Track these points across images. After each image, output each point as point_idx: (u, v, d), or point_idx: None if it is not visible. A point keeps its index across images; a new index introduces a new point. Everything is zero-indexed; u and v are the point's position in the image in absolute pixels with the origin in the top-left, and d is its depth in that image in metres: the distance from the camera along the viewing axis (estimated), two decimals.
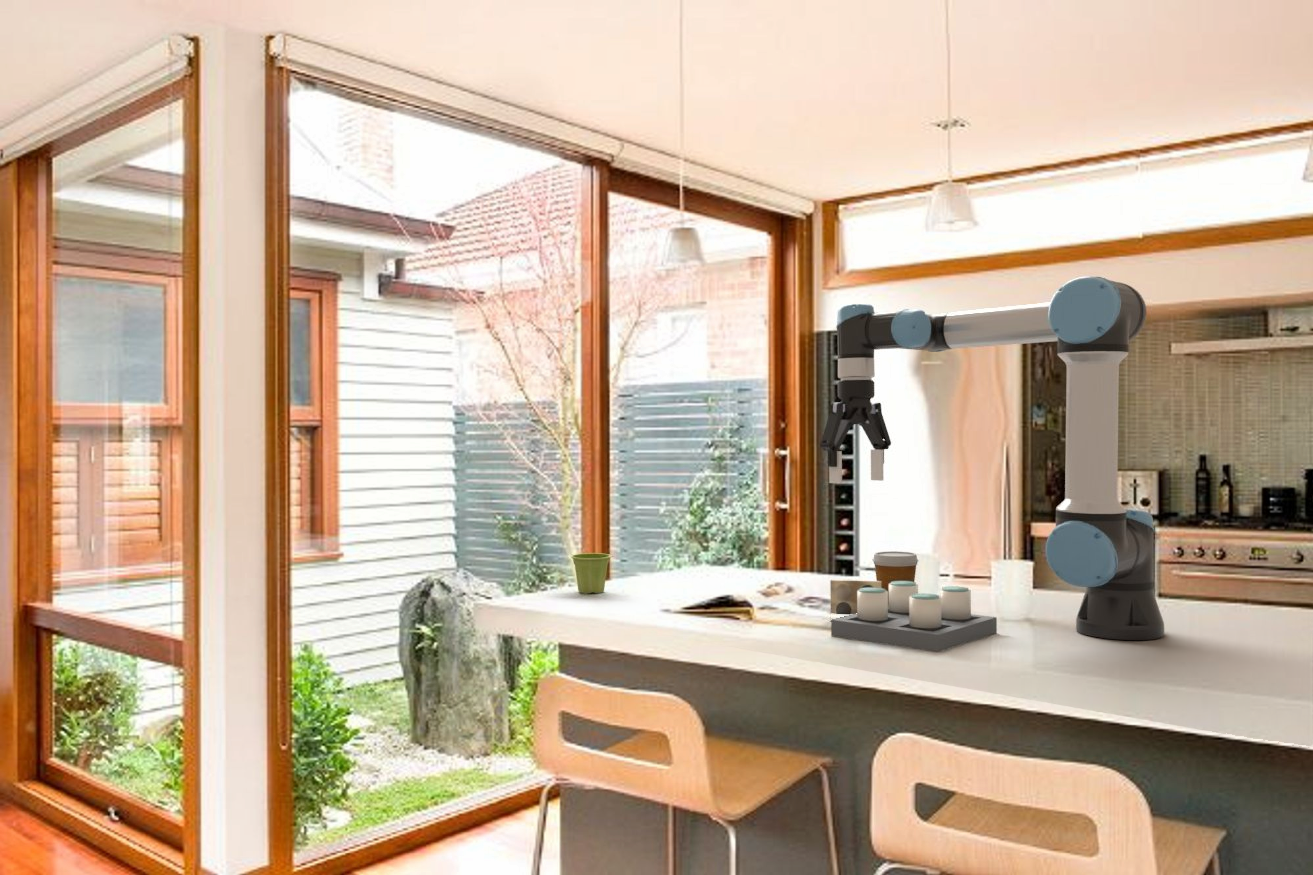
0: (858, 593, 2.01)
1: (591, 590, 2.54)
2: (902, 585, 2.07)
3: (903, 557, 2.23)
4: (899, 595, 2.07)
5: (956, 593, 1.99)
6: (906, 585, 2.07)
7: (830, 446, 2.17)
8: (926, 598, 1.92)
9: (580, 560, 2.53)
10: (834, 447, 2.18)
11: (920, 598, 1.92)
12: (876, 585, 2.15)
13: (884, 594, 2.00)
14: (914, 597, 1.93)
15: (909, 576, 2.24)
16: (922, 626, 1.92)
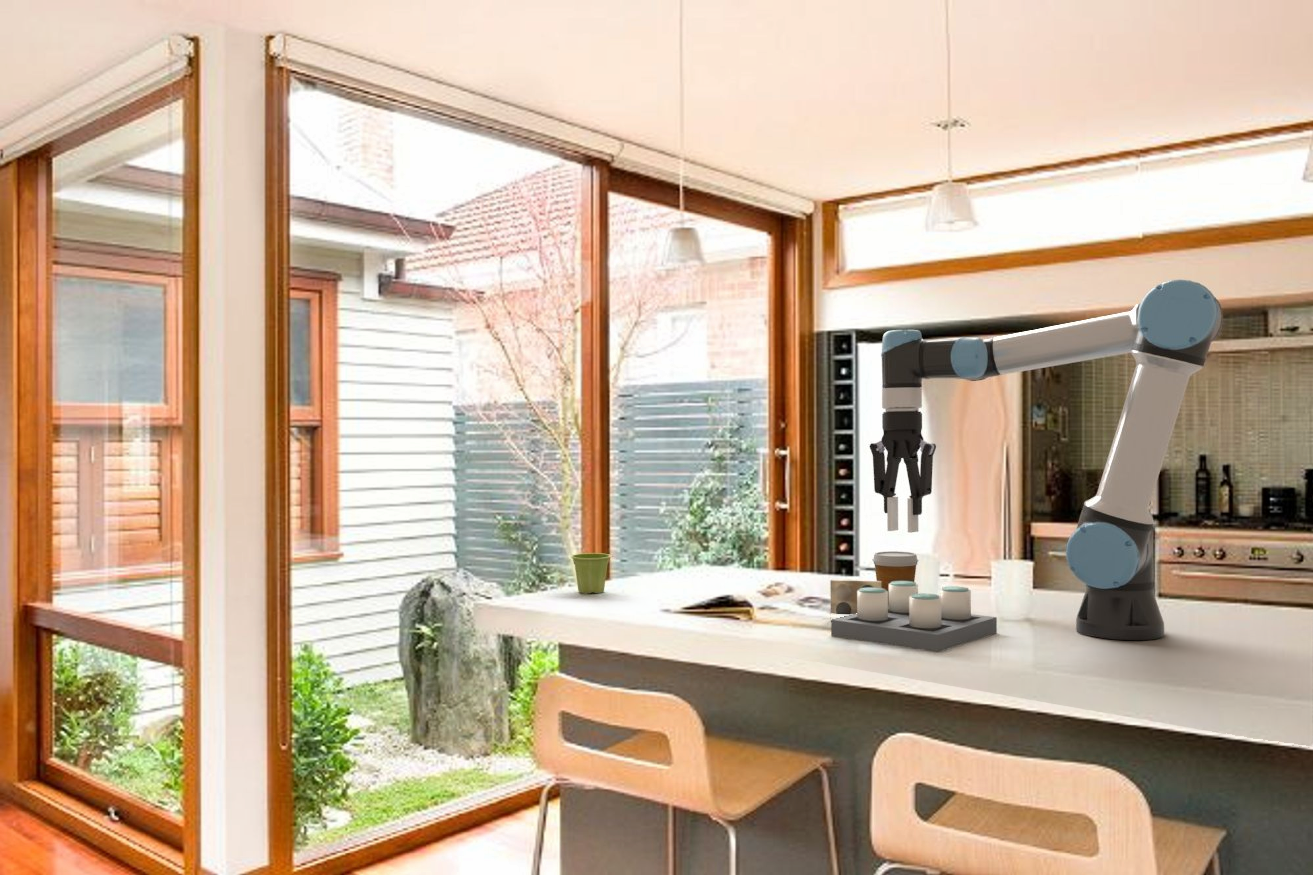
0: (858, 593, 2.01)
1: (591, 590, 2.54)
2: (902, 585, 2.07)
3: (903, 557, 2.23)
4: (899, 595, 2.07)
5: (956, 593, 1.99)
6: (906, 585, 2.07)
7: (876, 492, 2.12)
8: (926, 598, 1.92)
9: (580, 560, 2.53)
10: None
11: (920, 598, 1.92)
12: (876, 585, 2.15)
13: (884, 594, 2.00)
14: (914, 597, 1.93)
15: (909, 576, 2.24)
16: (922, 626, 1.92)
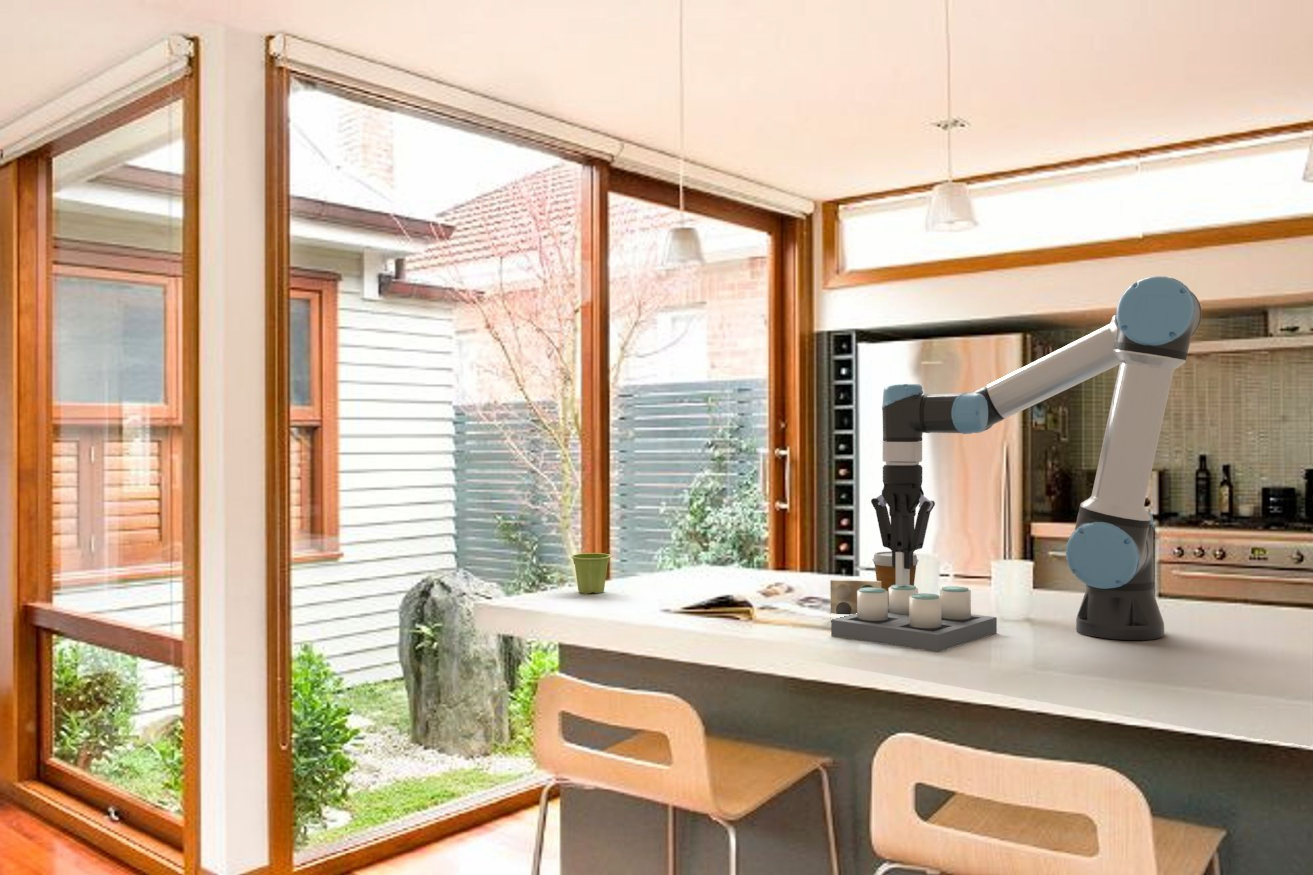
0: (858, 593, 2.01)
1: (591, 590, 2.54)
2: (902, 589, 2.07)
3: None
4: (899, 599, 2.07)
5: (956, 593, 1.99)
6: (906, 589, 2.07)
7: (885, 546, 2.11)
8: (926, 598, 1.92)
9: (580, 560, 2.53)
10: None
11: (920, 598, 1.92)
12: (876, 585, 2.15)
13: (884, 594, 2.00)
14: (914, 597, 1.93)
15: None
16: (922, 626, 1.92)
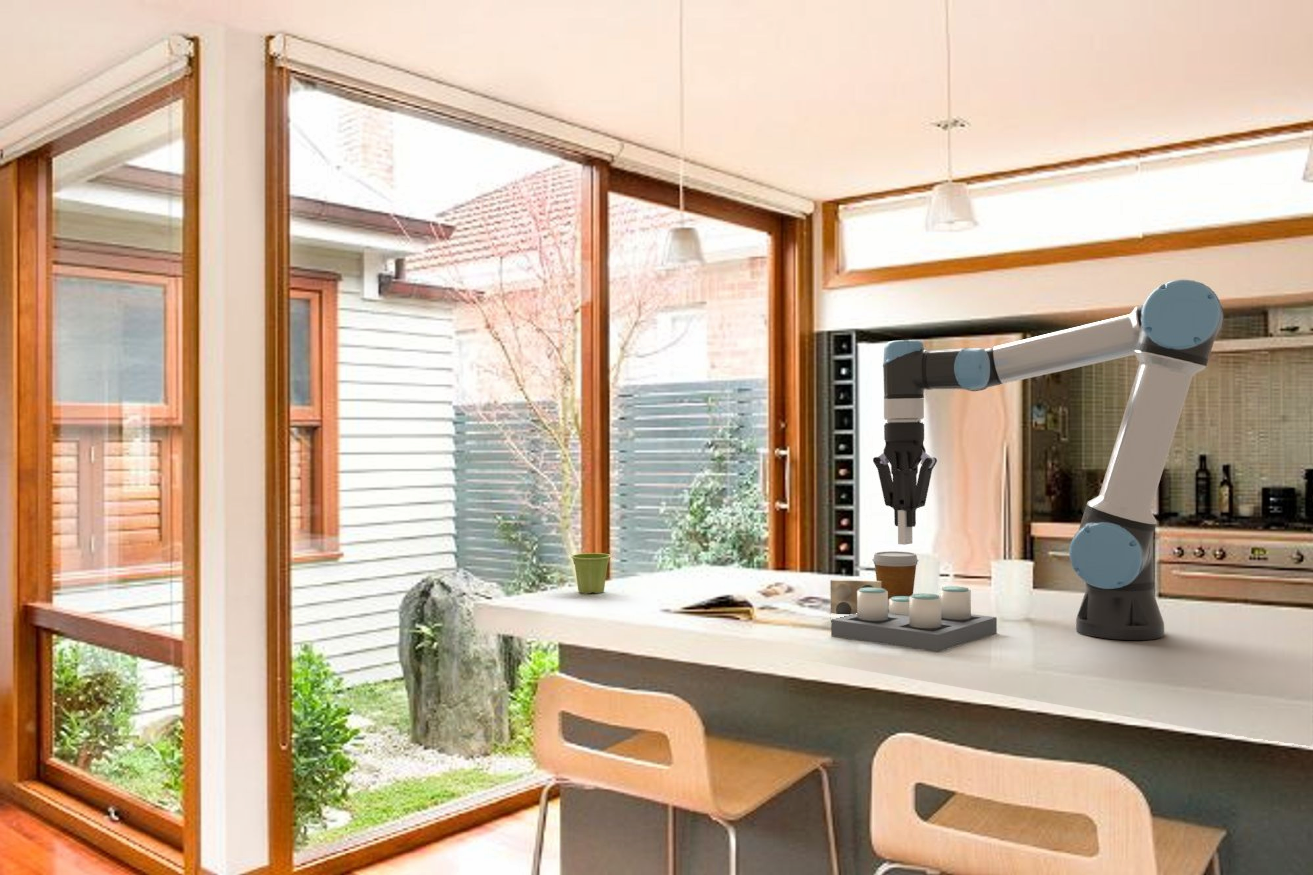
0: (858, 593, 2.01)
1: (591, 590, 2.54)
2: (902, 601, 2.08)
3: (903, 557, 2.23)
4: (899, 610, 2.07)
5: (956, 593, 1.99)
6: (906, 601, 2.07)
7: (887, 504, 2.09)
8: (926, 598, 1.92)
9: (580, 560, 2.53)
10: None
11: (920, 598, 1.92)
12: (876, 585, 2.15)
13: (884, 594, 2.00)
14: (914, 597, 1.93)
15: (909, 576, 2.24)
16: (922, 626, 1.92)
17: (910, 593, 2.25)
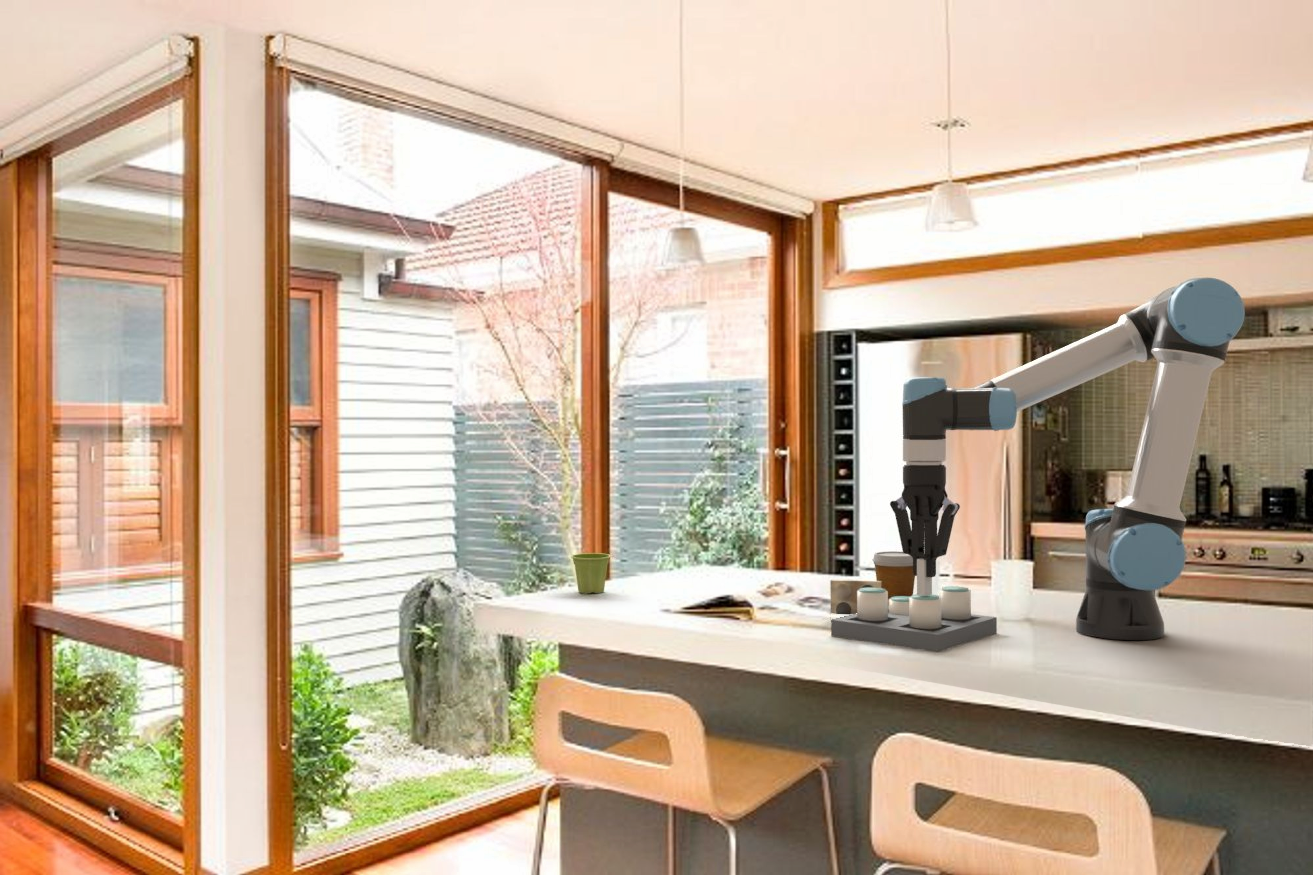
0: (858, 593, 2.01)
1: (591, 590, 2.54)
2: (902, 601, 2.08)
3: (903, 557, 2.23)
4: (899, 610, 2.07)
5: (956, 593, 1.99)
6: (906, 601, 2.07)
7: (905, 552, 1.95)
8: (926, 599, 1.92)
9: (580, 560, 2.53)
10: None
11: (920, 599, 1.92)
12: (876, 585, 2.15)
13: (884, 594, 2.00)
14: (914, 598, 1.93)
15: (909, 576, 2.24)
16: (922, 627, 1.92)
17: (910, 593, 2.25)
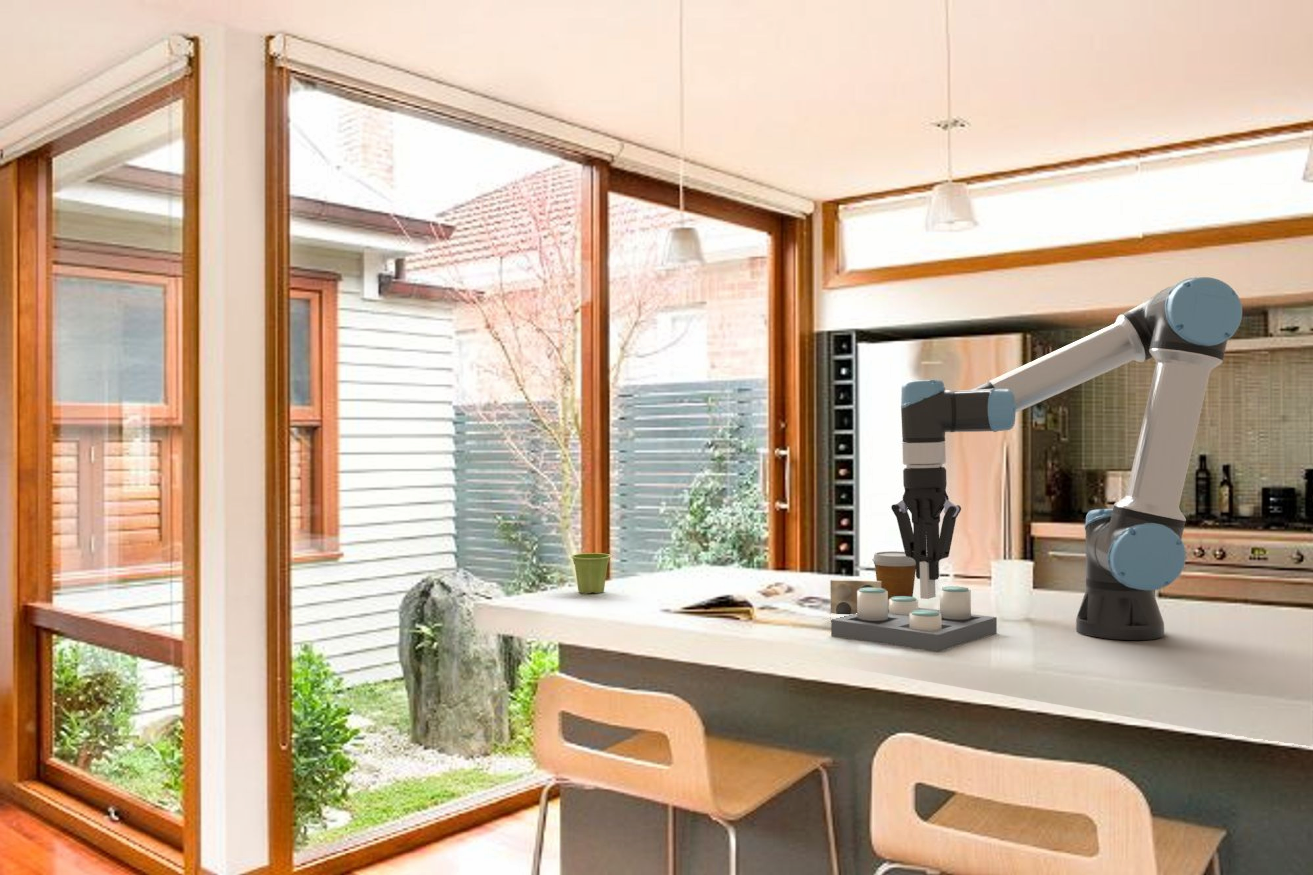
0: (858, 593, 2.01)
1: (591, 590, 2.54)
2: (902, 601, 2.08)
3: (903, 557, 2.23)
4: (899, 610, 2.07)
5: (956, 593, 1.99)
6: (906, 601, 2.07)
7: (908, 555, 1.95)
8: (926, 615, 1.92)
9: (580, 560, 2.53)
10: None
11: (920, 615, 1.92)
12: (876, 585, 2.15)
13: (884, 594, 2.00)
14: (914, 614, 1.93)
15: (909, 576, 2.24)
16: None
17: (910, 593, 2.25)
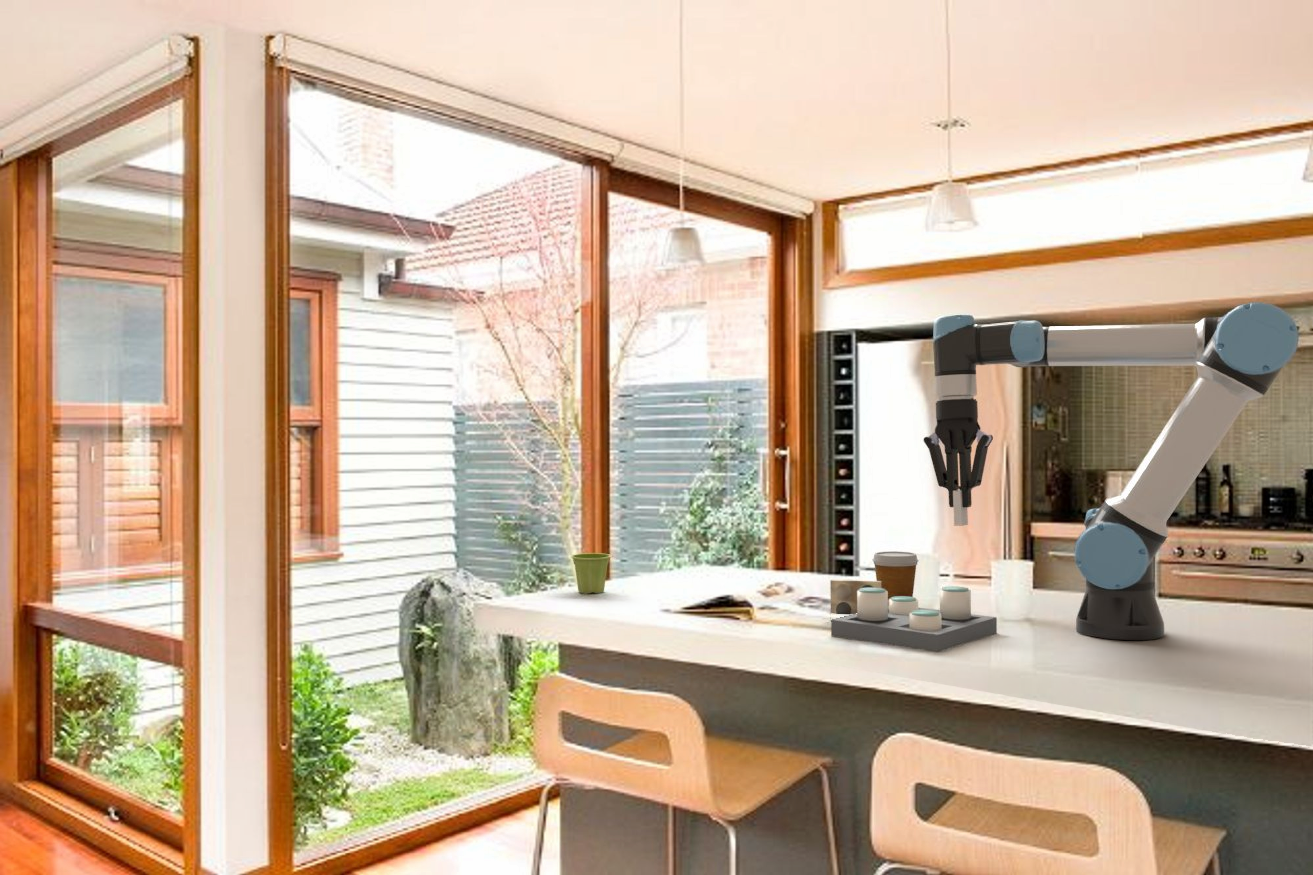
0: (858, 593, 2.01)
1: (591, 590, 2.54)
2: (902, 601, 2.08)
3: (903, 557, 2.23)
4: (899, 610, 2.07)
5: (956, 593, 1.99)
6: (906, 601, 2.07)
7: (941, 485, 2.03)
8: (926, 615, 1.92)
9: (580, 560, 2.53)
10: None
11: (920, 615, 1.92)
12: (876, 585, 2.15)
13: (884, 594, 2.00)
14: (914, 614, 1.93)
15: (909, 576, 2.24)
16: None
17: (910, 593, 2.25)
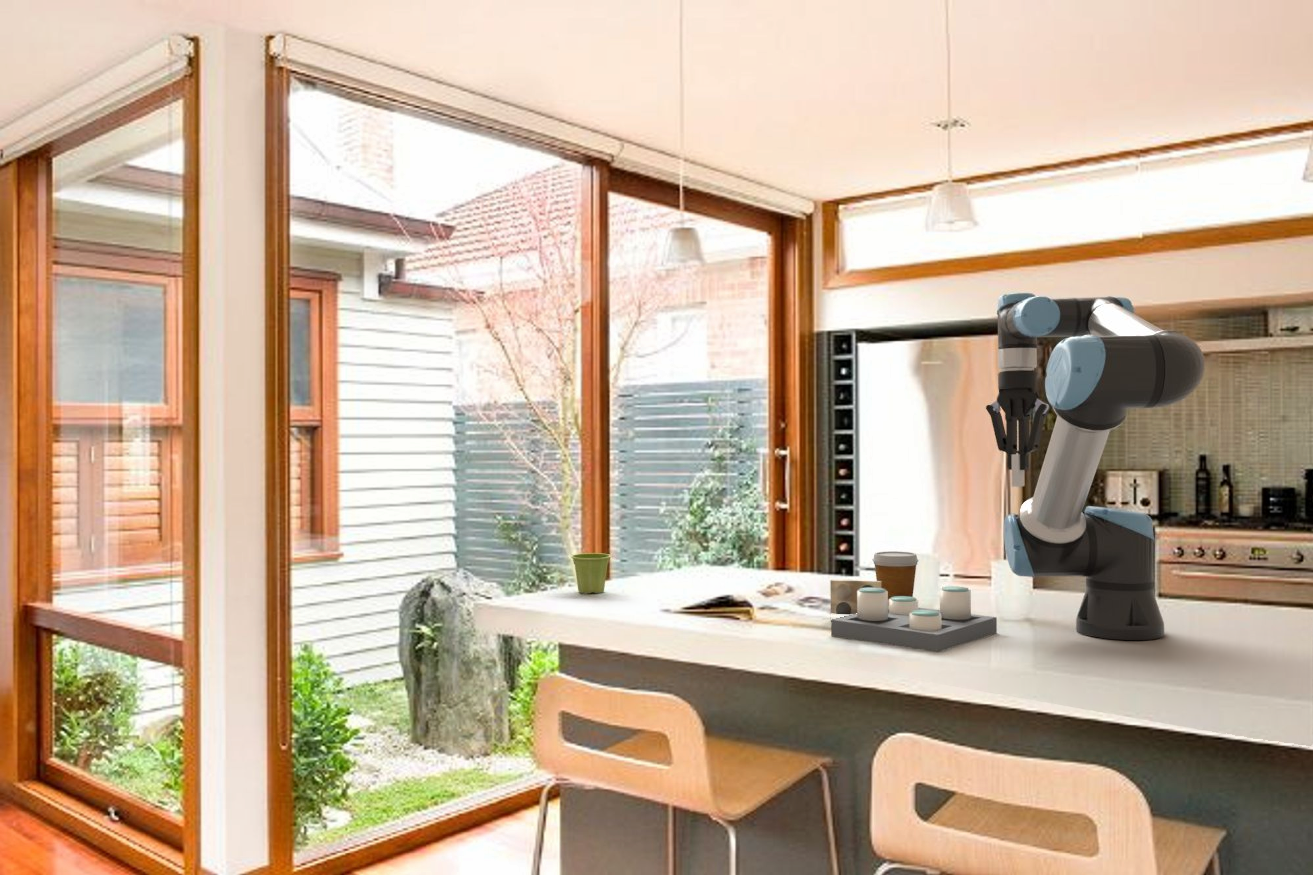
0: (858, 593, 2.01)
1: (591, 590, 2.54)
2: (902, 601, 2.08)
3: (903, 557, 2.23)
4: (899, 610, 2.07)
5: (956, 593, 1.99)
6: (906, 601, 2.07)
7: (1000, 449, 2.21)
8: (926, 615, 1.92)
9: (580, 560, 2.53)
10: None
11: (920, 615, 1.92)
12: (876, 585, 2.15)
13: (884, 594, 2.00)
14: (914, 614, 1.93)
15: (909, 576, 2.24)
16: None
17: (910, 593, 2.25)
